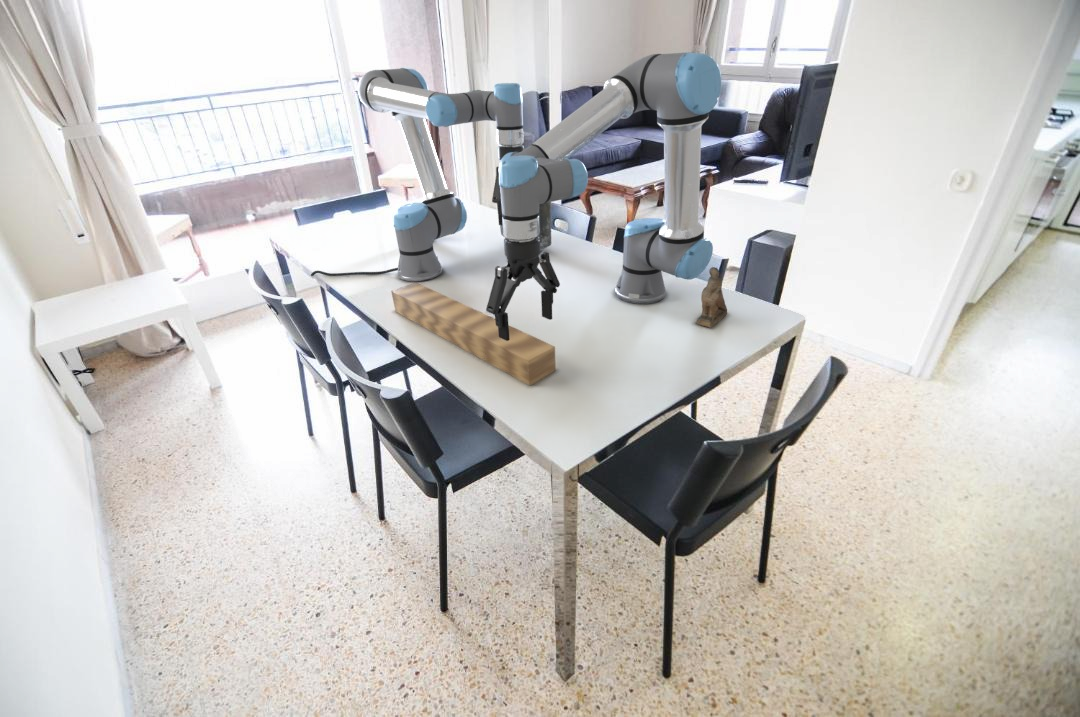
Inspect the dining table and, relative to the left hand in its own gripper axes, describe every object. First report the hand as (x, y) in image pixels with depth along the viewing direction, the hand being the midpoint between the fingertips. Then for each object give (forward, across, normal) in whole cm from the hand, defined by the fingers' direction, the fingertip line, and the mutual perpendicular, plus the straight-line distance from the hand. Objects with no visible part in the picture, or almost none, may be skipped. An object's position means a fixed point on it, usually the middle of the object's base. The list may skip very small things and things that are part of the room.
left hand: (514, 219), depth 153 cm
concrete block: (+22, +35, +16) cm, 44 cm away
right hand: (+10, -44, -28) cm, 53 cm away
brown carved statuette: (+21, +1, -62) cm, 66 cm away
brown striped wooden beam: (+22, -37, -5) cm, 43 cm away
